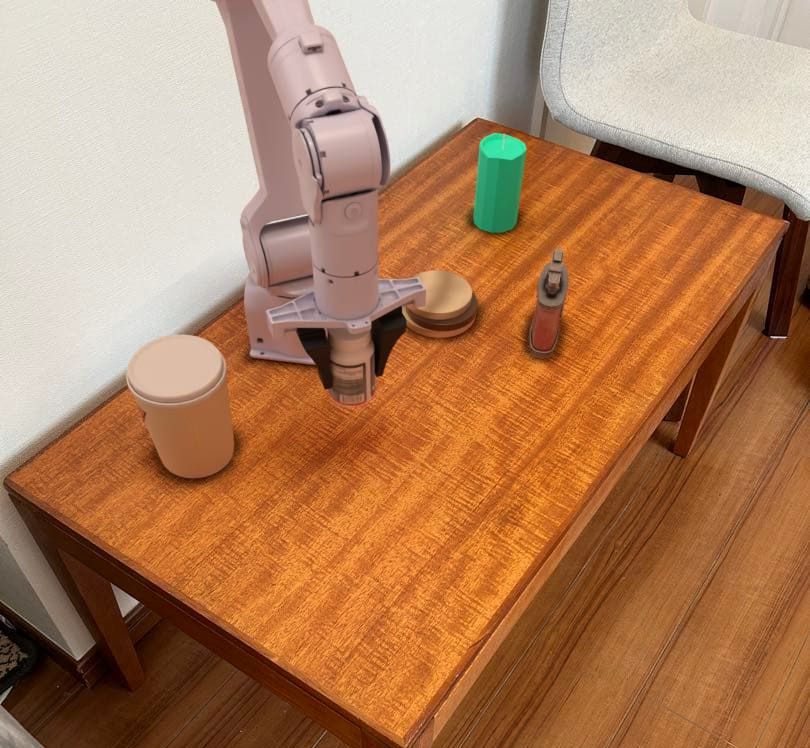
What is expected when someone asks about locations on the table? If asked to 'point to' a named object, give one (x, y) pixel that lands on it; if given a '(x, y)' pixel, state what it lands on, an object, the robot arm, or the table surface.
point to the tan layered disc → (442, 306)
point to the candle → (499, 182)
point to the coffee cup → (184, 403)
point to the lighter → (549, 306)
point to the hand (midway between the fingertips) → (350, 376)
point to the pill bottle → (351, 367)
